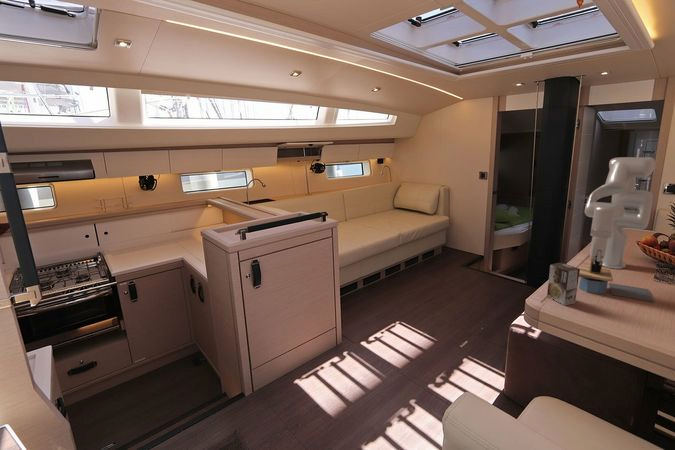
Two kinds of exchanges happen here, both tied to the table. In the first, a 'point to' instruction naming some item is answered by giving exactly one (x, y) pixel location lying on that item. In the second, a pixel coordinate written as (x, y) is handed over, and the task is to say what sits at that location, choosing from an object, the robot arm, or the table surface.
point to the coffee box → (563, 283)
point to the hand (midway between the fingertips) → (595, 269)
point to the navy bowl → (593, 285)
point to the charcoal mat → (630, 292)
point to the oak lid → (595, 273)
